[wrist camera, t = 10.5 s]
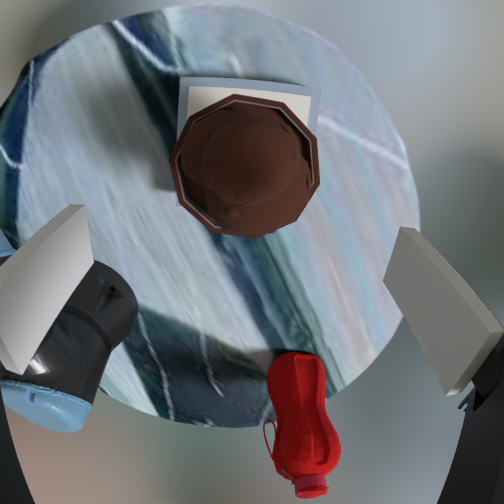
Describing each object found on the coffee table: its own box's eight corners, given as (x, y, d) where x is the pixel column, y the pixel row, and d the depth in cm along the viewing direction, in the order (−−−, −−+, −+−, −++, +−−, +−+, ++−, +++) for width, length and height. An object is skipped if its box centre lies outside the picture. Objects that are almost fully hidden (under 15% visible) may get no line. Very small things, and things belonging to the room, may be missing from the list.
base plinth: (182, 193, 36) (175, 206, 33) (187, 78, 29) (179, 76, 26) (297, 202, 37) (303, 216, 33) (312, 89, 30) (321, 88, 27)
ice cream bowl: (172, 128, 28) (113, 160, 15) (273, 78, 26) (299, 63, 13) (220, 213, 33) (205, 300, 20) (315, 170, 31) (366, 233, 18)
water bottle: (268, 344, 49) (279, 488, 27) (327, 353, 51) (358, 484, 29) (252, 376, 53) (256, 504, 32) (307, 383, 55) (325, 501, 33)
